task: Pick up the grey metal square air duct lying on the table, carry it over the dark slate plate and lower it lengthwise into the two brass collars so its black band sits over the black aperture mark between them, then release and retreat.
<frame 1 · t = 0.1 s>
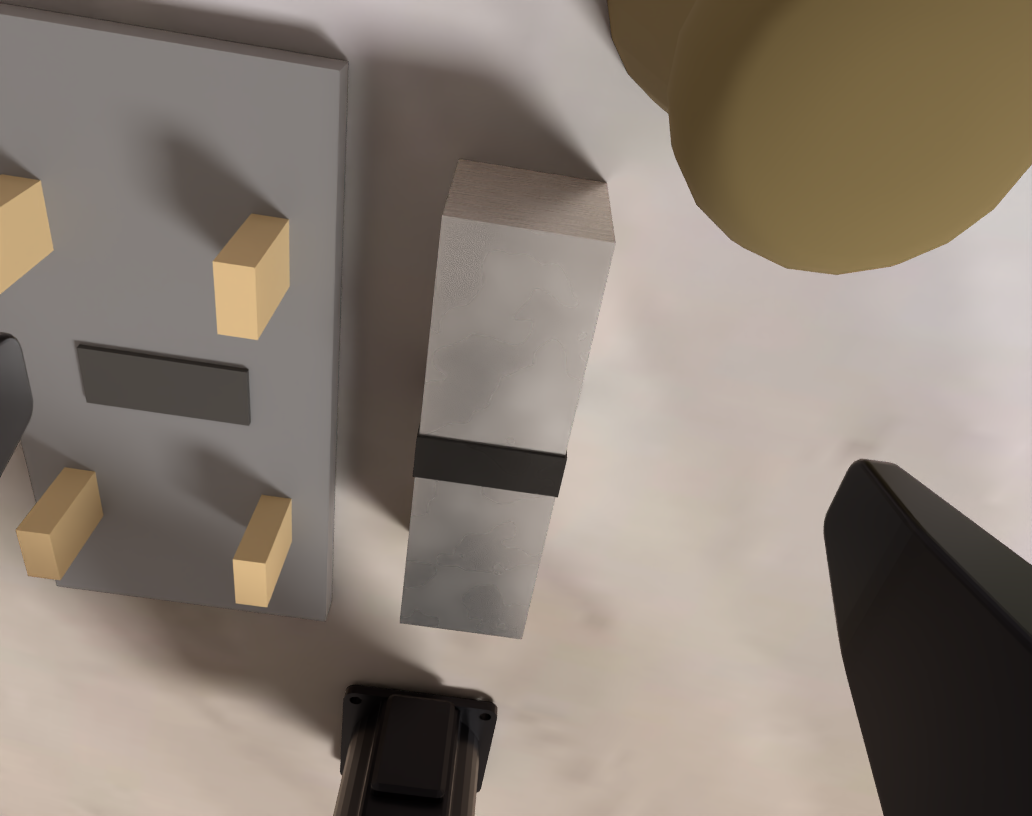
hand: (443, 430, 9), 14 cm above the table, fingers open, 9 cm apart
air duct: (497, 386, 26), on the table
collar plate: (180, 366, 26), on the table
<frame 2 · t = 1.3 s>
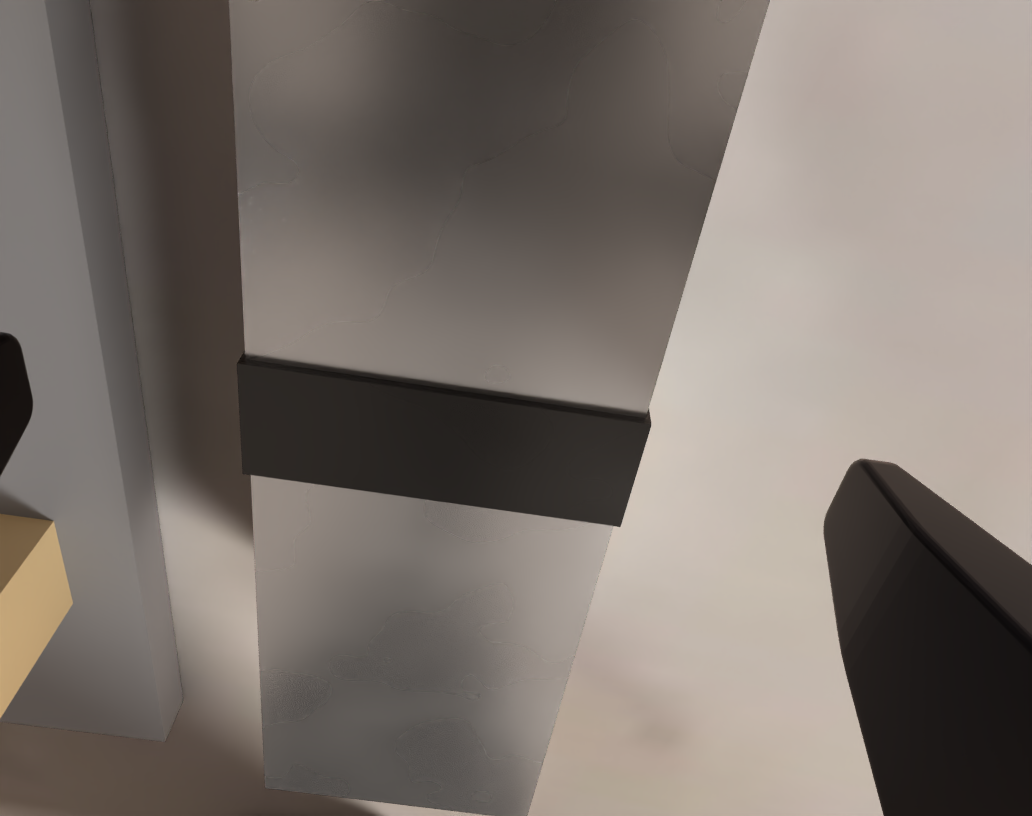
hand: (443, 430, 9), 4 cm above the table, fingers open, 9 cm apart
air duct: (473, 276, 12), on the table
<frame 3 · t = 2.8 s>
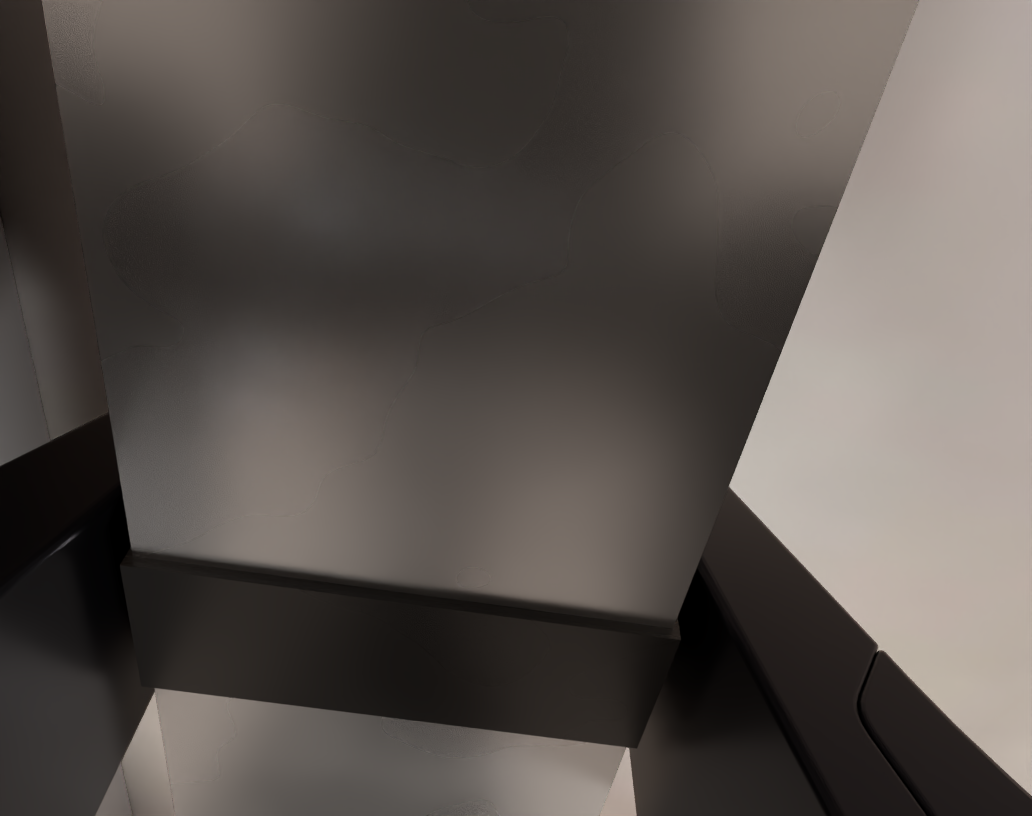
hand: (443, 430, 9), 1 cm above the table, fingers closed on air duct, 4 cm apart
air duct: (453, 379, 10), on the table, touching gripper
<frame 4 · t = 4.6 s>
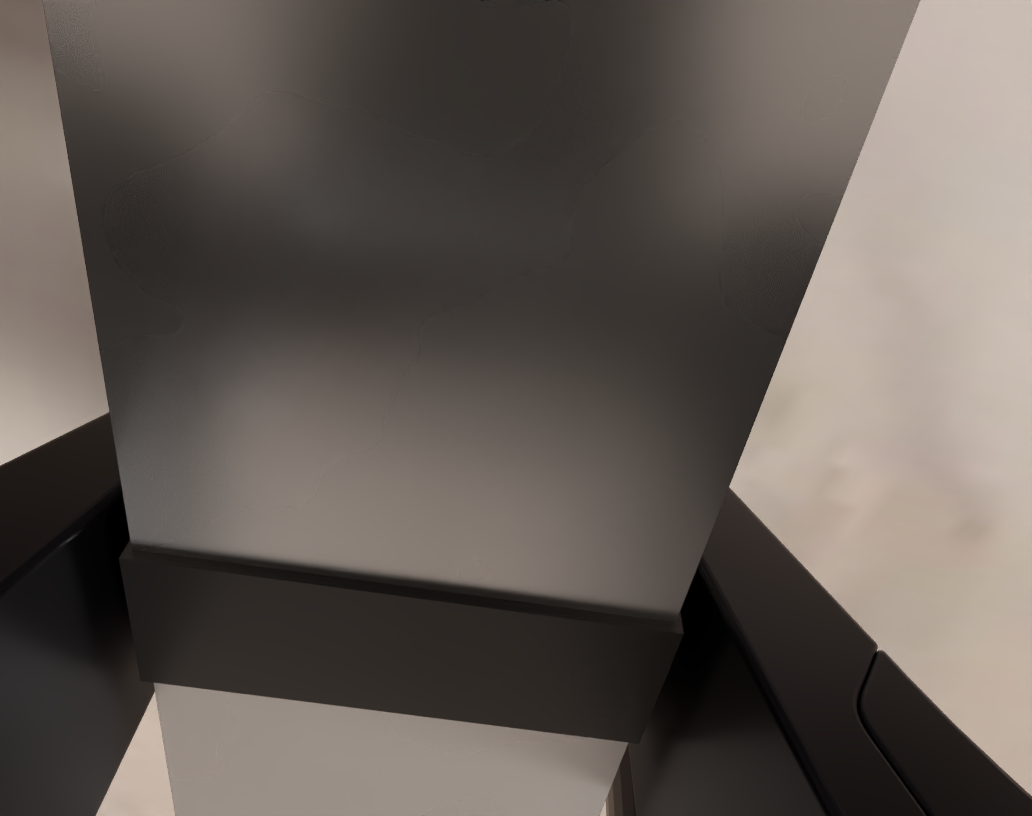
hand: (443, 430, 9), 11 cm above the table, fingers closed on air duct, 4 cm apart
air duct: (453, 374, 10), point 10 cm above the table, touching gripper
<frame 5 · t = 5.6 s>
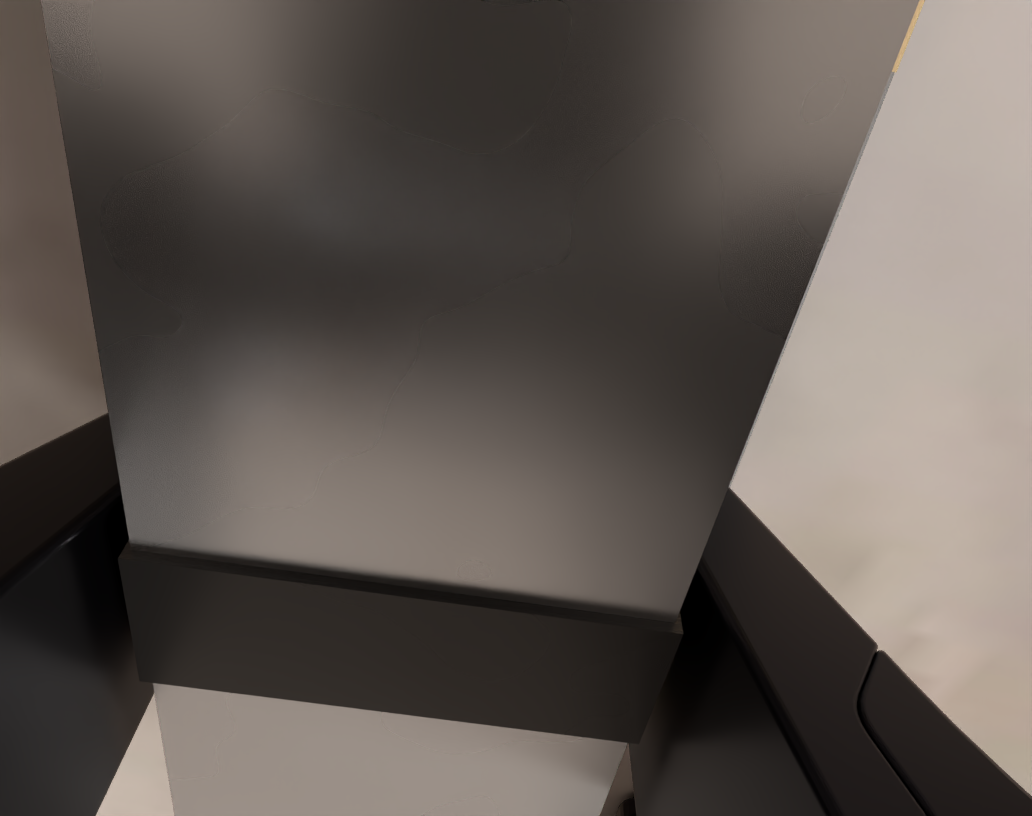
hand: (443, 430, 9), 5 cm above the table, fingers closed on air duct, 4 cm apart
air duct: (453, 374, 10), point 4 cm above the table, touching gripper
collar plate: (476, 236, 13), on the table
when the fingers open (4 cm above the table, at t = 6.6 s): air duct drops 2 cm, resting on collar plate.
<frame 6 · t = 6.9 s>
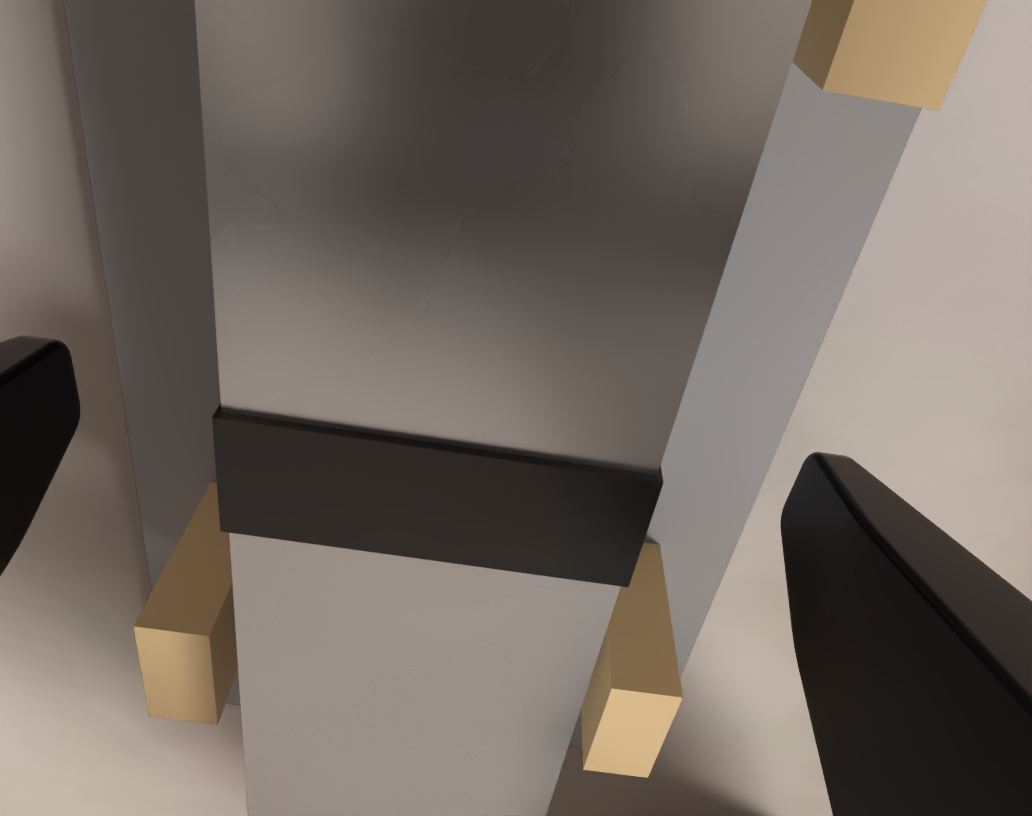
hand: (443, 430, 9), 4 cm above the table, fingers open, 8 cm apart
air duct: (470, 306, 11), point 1 cm above the table, touching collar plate
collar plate: (472, 269, 12), on the table
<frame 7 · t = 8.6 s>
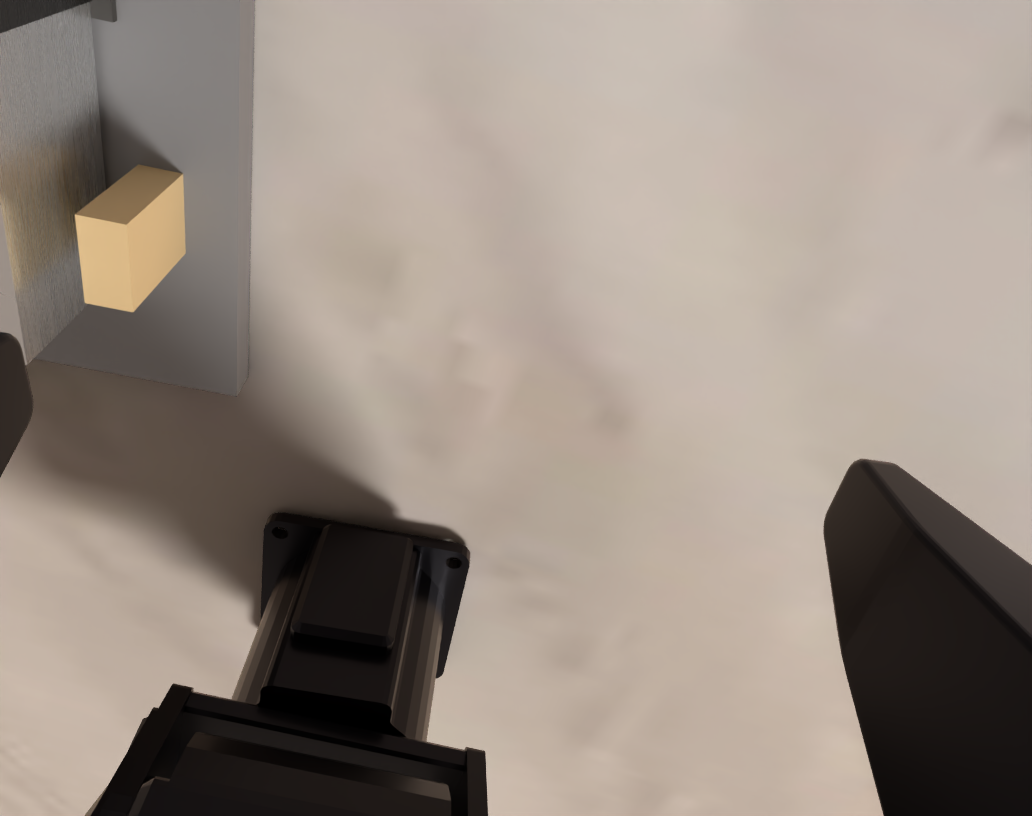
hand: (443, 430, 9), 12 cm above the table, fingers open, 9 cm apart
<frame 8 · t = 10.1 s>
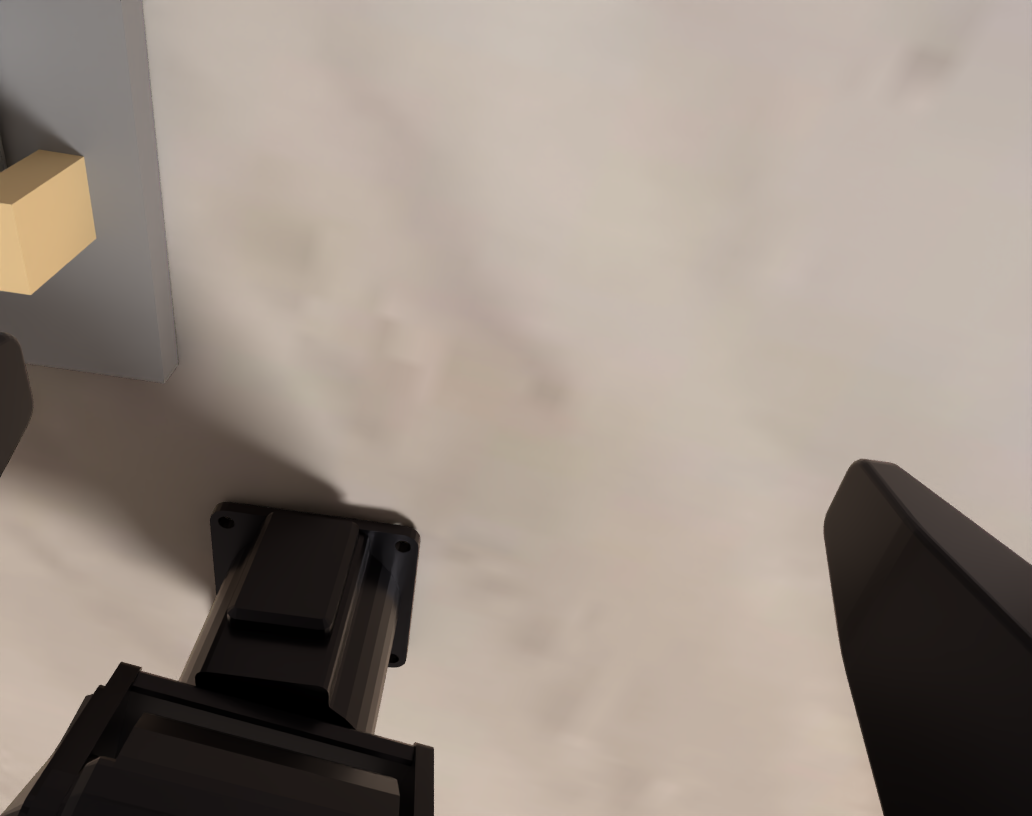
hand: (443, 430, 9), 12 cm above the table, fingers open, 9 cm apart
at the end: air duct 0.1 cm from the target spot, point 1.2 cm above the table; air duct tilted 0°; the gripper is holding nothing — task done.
